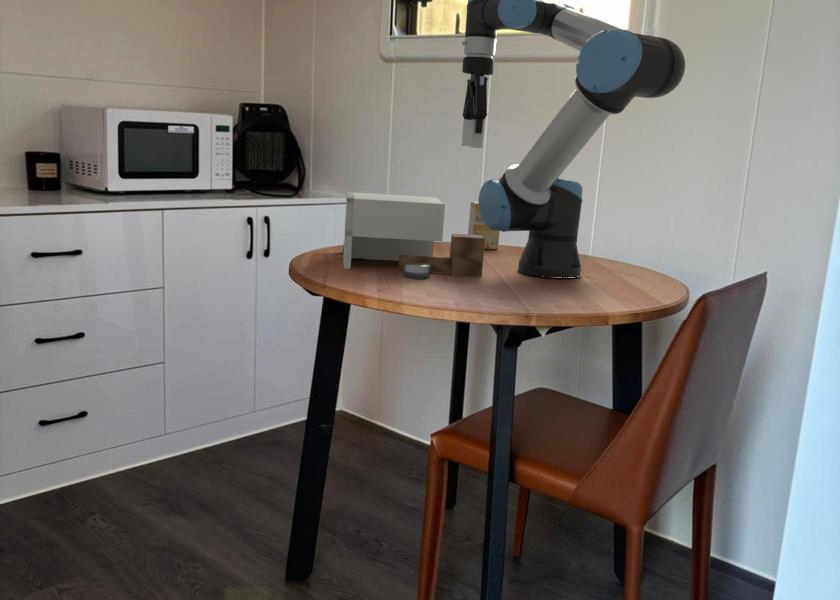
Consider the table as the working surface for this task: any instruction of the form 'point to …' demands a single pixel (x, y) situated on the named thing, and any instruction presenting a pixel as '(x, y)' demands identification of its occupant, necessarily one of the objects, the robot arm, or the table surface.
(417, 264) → the shiny grey metal dome
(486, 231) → the supplement box
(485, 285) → the table surface
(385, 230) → the shelf cabinet
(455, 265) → the tan block on stick
